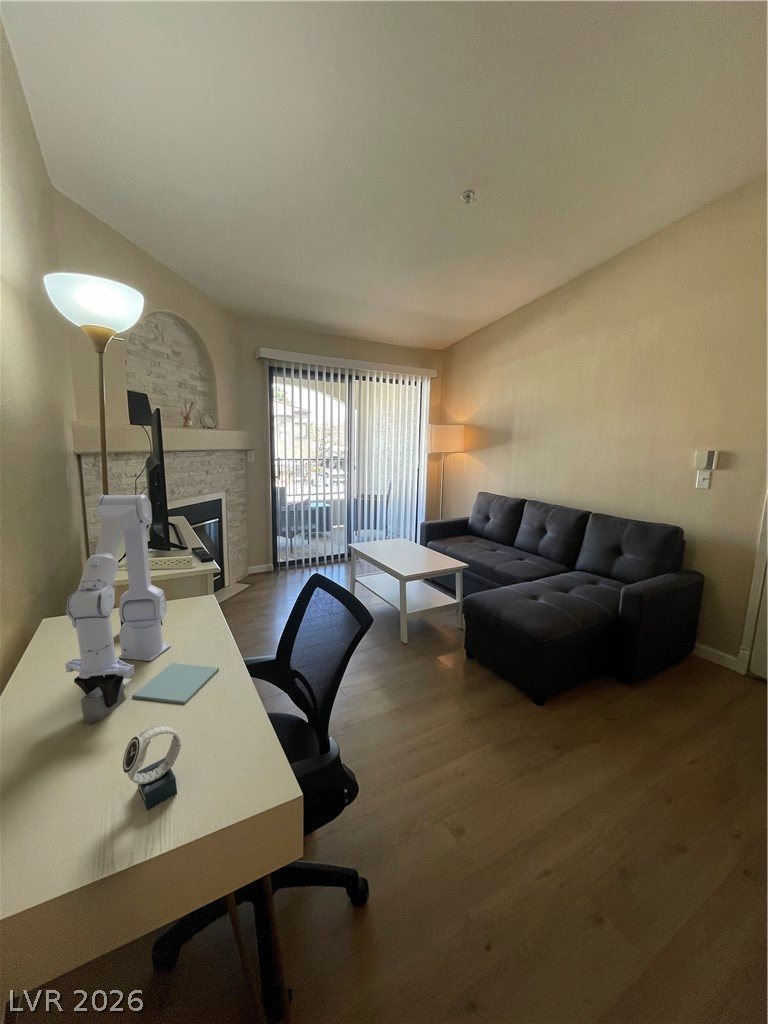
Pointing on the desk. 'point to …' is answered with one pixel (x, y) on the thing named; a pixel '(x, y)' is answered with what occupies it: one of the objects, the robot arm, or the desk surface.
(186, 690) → the mat
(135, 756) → the watch
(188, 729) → the desk surface
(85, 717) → the plug
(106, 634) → the robot arm
